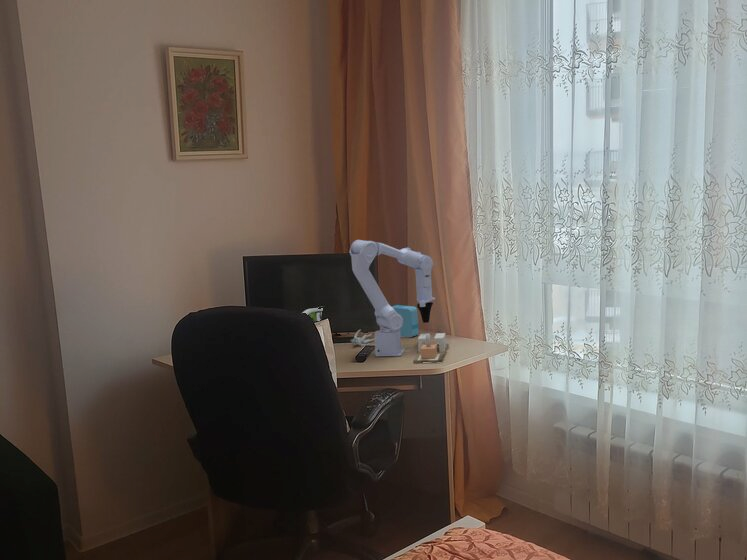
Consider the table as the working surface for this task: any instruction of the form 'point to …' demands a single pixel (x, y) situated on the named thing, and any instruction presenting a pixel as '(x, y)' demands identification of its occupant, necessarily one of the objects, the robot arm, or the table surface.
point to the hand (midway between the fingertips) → (426, 322)
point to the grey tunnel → (437, 338)
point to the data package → (408, 320)
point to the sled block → (428, 349)
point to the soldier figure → (361, 339)
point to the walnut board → (438, 358)
